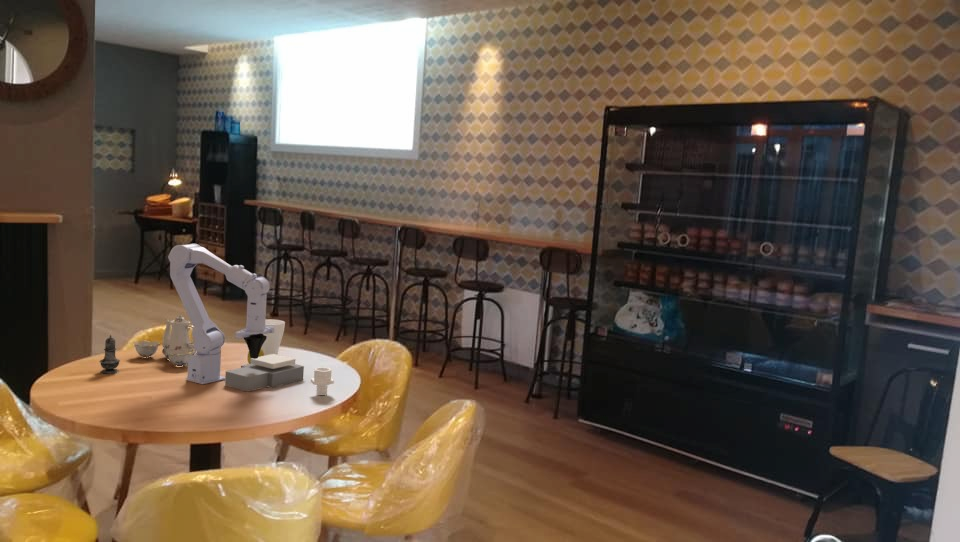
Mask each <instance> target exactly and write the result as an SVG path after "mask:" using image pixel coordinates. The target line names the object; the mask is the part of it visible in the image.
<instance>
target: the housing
mask: <svg viewBox="0 0 960 542" xmlns="http://www.w3.org/2000/svg"><path fill="white" fill-rule="evenodd" d="M304 368H305V366H304V365H301V364H296V363H295V364H292V365H288V366H283V367H279V368H275V369H271V368H267V367H263V366H259V365H255V364H249V363H247V364H243V365H240V367H239V368H235V369H230V370H226V371H225V376H224V377H225V379H224V383H225V384H224V385H225V386H226V385H227V387H229V386H231V387H230V388H233V387H234V389H237V390H240V389H241V391H244V392H251V390H252V391H256V390H260V389H262V388H263V389H264V388H267V387H268V388H276V387H280V386H284V385H288V384H290V382H291V383H294V382H299V381H302V379H303V380H304V372H305V371H304ZM298 380H299V381H298ZM259 388H260V389H259ZM255 389H256V390H255Z"/></svg>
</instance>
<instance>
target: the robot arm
mask: <svg viewBox="0 0 960 542" xmlns="http://www.w3.org/2000/svg"><path fill="white" fill-rule="evenodd" d="M167 259H168V260H169V276H170V279H171V281H172V284H173V286H174V287H175V290H176V292H177V295H178V297H179V298H180V300H181V303H182V305H183V308H184V309H185V311H186V314H187V316H188V318H189V321H190V323H191V326H193V328H192V331H191V333H190V334H191V336H192V342H193V346H194V348H195V350H196V353H195V354H194V355H192V356H191V357H190V358H189V360H188V364H187V378H185V381H188V382H189V381H190V382H192V383H197V384H200V385H205V384H210V383H214V382H219V381H222V380H225V376H223V375H221V360H222V359H221V357H222V347H223V346H224V344H225V342H226V335H225V333H224V332H223V331H222V330H221V329H220V328H219V327H218V325H217V324H216V323H215V322H213V321H212V320H211V319H210V316H209V314H208V313H207V310H206V308H205V306H204V303H203V301H202V299H201V296H200V295H199V293H198V290H197V288H196V286H195V284H194V281H193V279H192V277H191V274H192V273H193V270H194V268H195V267H196V266H197V265H198V264H203V265H205V266H208V267H209V268H211V269H214V270H216V271H217V272H219V273H221V274H223V275H225V279H226V280H227V281H228V282H229V283H231V284H233V285H235V286H236V287H238V288H240V289H242V290H243V291H244V293H245V294H246V296H247V302H246V323H245V324H246V325H245V328H243V329H241V330H238V331H235V333H234V334H235V337H234V338H235V339H238V340H242V339H243V340H244V342H245V344H246V345H247V348H248V352H249V353H250V358H254V359H256V358H258V356H259V353H260V350H261V347H262V345H263V343H264V342H265V340H266V338H267V336H264V335H263V334H267V333H274V327H271V326H268V327H265V319H267V318H266V317H267V296H268V293H269V291H270V289H271V284H270V282H269V280H268V279H267V278H266V277H264V276H258V275H257V274H258V273H257V274H256V273H255V272H254V273H253V272H250V271H249V270H247V269H245V266H244V265H242V264H240V265H238V264H234V265H231V264H229V263H227V262H226V261H225V260H223V259H221V258H220V257H219V256H217V255H215V254H214V253H212V252H211V251H209V250H208V249H207V248H205V247H203V246H200V244H197V243H195V242H194V243H188V244H177V245H175V246H173V247H172V248H171V250H170V252H169V254H168V256H167Z"/></svg>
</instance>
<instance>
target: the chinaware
mask: <svg viewBox="0 0 960 542" xmlns="http://www.w3.org/2000/svg"><path fill="white" fill-rule="evenodd" d="M165 322H166V326H165V330H164V333H163V336H162V340H161V341H162V343H160V342H159V341H158V340H153V341H150V340H145V339H143V340H140V341H139V342H138V341H135V342H133V343H132V344H133V346H134V348H135V351H136V353H137V354H138V355H139V356H141V357H146V358H147V357H149V356H150V357H153V356H154V355H155V354H156V352H157V351H158V348H159V346H161V344H162V348H163V349H162V350H161V352H162V354H163V356H164V357H166V358H167V359H169V360H170V361H169V362H170V363H171V364H172V365H173V366H176V365H177V366H182V365H184V366H185V367H188V360H189V358H190V357H191V356H192V355H195V354H196V353H197V351H196V350H195V348H194V346H193V341H191V338H190V333H189V331H190V330H191V328H192V329H193V325H190V323H191V321H190V320H186V318H185V317H183V315H182V313H179V315H178V317H175V319H173V320H169V319H168V318H165ZM166 358H165V359H166Z"/></svg>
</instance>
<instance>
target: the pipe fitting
mask: <svg viewBox="0 0 960 542" xmlns="http://www.w3.org/2000/svg"><path fill="white" fill-rule="evenodd" d="M313 370H314V371H313V377H311V378H310V383H312V385H314V386H315V385H316V390H315V391H316V396H318V395H325V396H327V395H326V394H328V387H329V385H332V384H334V383H335V380H334V379H333V378H332V368H330V367H324V366H323V367H321V366H320V367H316V368H314V369H313Z"/></svg>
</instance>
